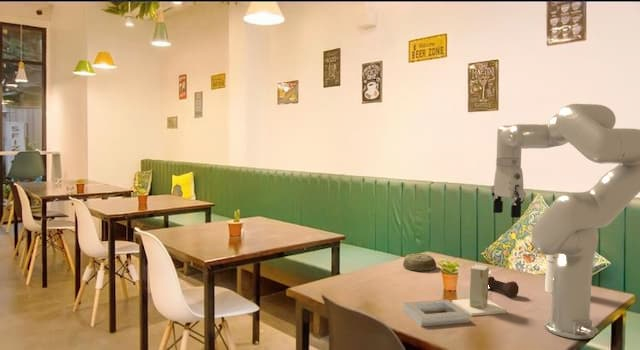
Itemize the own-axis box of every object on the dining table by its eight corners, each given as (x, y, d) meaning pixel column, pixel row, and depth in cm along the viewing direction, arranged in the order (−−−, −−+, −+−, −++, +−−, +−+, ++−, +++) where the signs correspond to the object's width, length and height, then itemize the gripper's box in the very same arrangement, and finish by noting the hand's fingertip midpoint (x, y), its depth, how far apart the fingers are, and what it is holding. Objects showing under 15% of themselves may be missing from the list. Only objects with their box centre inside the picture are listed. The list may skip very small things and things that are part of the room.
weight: (417, 274, 191) (417, 261, 191) (396, 266, 203) (396, 254, 202) (443, 269, 198) (443, 257, 197) (420, 262, 209) (421, 250, 209)
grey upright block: (483, 309, 149) (484, 270, 148) (469, 306, 152) (470, 268, 151) (488, 303, 155) (489, 265, 154) (474, 300, 157) (475, 263, 156)
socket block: (468, 322, 141) (469, 313, 141) (421, 326, 137) (421, 318, 137) (447, 307, 153) (447, 299, 153) (403, 310, 150) (403, 302, 150)
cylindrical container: (565, 295, 165) (568, 223, 163) (542, 291, 170) (546, 221, 168) (569, 290, 171) (572, 220, 169) (547, 286, 175) (550, 218, 173)
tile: (506, 312, 149) (506, 310, 149) (471, 315, 146) (471, 313, 146) (484, 299, 160) (484, 297, 160) (451, 302, 158) (451, 300, 158)
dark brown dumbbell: (481, 289, 177) (515, 300, 164) (472, 284, 175) (506, 295, 162) (487, 275, 178) (521, 285, 165) (478, 270, 176) (512, 279, 163)
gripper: (535, 164, 151) (533, 219, 152) (502, 161, 168) (501, 210, 169) (514, 164, 149) (512, 219, 151) (483, 162, 166) (481, 211, 167)
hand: (506, 214), depth 160 cm, fingers open, 9 cm apart
